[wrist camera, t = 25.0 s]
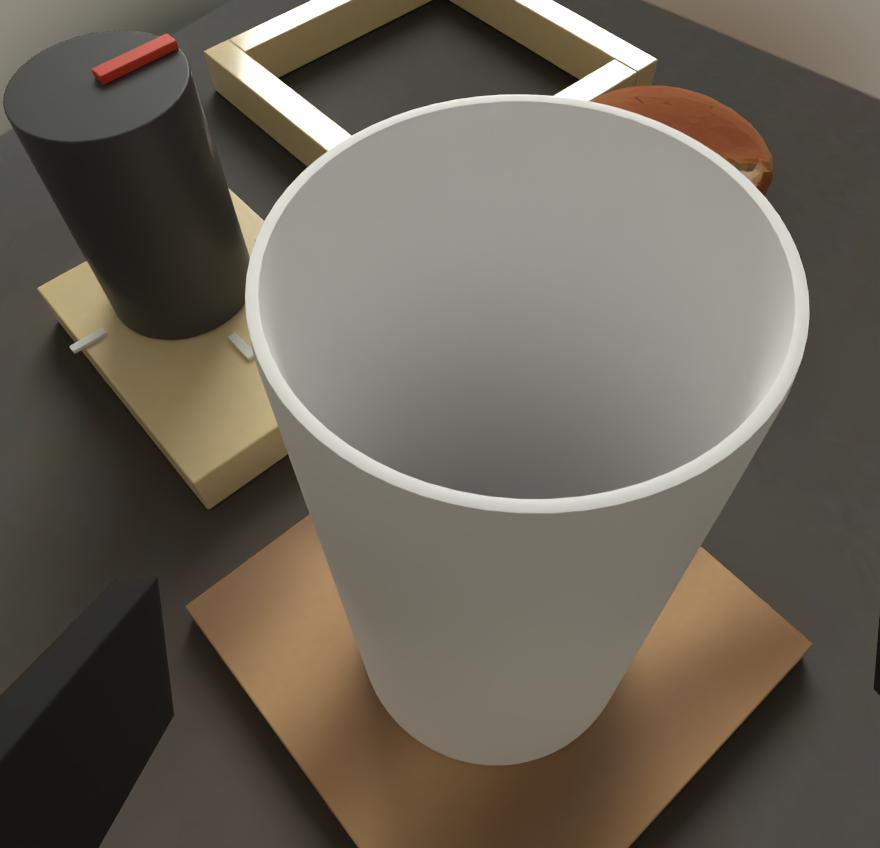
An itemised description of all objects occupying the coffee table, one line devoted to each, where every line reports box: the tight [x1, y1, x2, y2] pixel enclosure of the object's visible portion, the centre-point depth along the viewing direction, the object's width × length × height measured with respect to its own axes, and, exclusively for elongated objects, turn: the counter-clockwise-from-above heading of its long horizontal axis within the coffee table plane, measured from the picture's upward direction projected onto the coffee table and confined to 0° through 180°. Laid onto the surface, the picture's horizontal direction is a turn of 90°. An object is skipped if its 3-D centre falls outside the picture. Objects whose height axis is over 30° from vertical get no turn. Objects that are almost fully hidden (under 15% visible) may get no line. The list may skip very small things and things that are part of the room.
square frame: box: [204, 0, 658, 167], centre depth 41 cm, size 16×16×2 cm
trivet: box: [185, 514, 813, 848], centre depth 26 cm, size 14×14×1 cm
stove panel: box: [37, 188, 288, 509], centre depth 32 cm, size 13×10×2 cm
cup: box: [245, 95, 809, 766], centre depth 19 cm, size 8×8×16 cm
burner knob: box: [3, 30, 250, 340], centre depth 28 cm, size 6×6×9 cm
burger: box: [590, 86, 774, 195], centre depth 34 cm, size 10×9×5 cm
